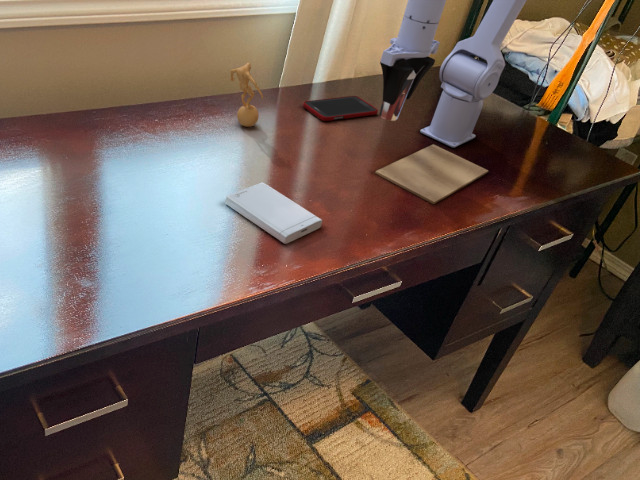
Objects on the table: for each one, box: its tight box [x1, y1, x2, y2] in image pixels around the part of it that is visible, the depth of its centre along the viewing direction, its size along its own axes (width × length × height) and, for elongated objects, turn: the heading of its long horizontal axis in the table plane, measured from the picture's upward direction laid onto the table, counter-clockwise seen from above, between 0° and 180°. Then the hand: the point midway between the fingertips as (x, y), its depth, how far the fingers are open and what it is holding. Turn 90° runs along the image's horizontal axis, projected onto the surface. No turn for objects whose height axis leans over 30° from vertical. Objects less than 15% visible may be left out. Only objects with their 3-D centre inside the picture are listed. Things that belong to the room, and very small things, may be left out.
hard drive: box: [224, 181, 323, 245], centre depth 91 cm, size 2×8×12 cm
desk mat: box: [374, 143, 489, 205], centre depth 110 cm, size 20×12×1 cm, turn 136°
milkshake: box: [378, 65, 424, 122], centre depth 105 cm, size 4×5×10 cm
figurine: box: [230, 62, 264, 128], centre depth 110 cm, size 8×6×12 cm
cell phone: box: [302, 95, 379, 122], centre depth 125 cm, size 8×15×1 cm, turn 121°
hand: (396, 99), depth 106 cm, fingers closed on milkshake, 4 cm apart
